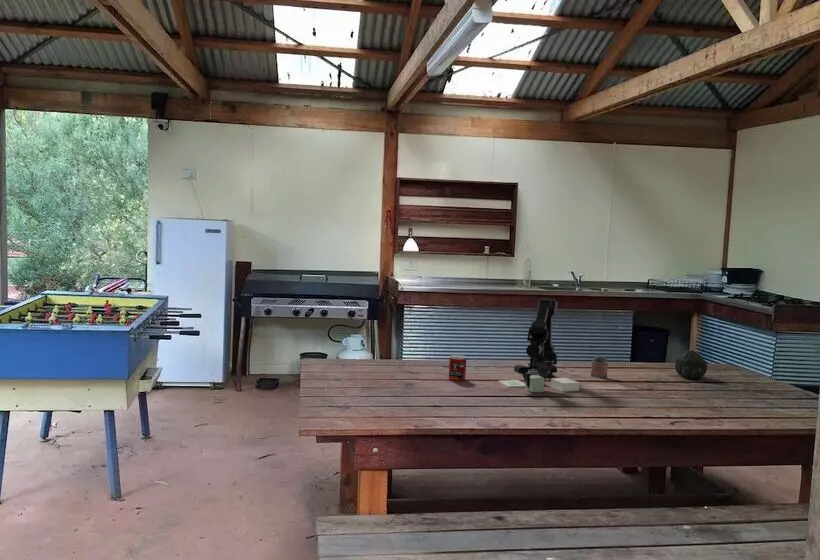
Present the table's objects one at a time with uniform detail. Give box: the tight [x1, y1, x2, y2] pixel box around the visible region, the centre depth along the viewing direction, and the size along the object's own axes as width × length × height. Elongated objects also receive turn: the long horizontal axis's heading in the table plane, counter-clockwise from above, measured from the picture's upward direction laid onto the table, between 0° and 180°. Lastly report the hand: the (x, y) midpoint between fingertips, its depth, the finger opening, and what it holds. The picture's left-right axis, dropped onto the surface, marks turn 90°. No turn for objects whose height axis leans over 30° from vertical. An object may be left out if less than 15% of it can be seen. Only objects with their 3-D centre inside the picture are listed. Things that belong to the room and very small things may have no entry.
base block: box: [550, 377, 580, 392], centre depth 291 cm, size 9×9×4 cm
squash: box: [674, 350, 708, 380], centre depth 325 cm, size 14×15×15 cm
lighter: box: [590, 356, 609, 379], centre depth 317 cm, size 8×3×10 cm, turn 62°
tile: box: [498, 379, 526, 388], centre depth 295 cm, size 10×10×1 cm
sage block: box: [524, 375, 546, 393], centre depth 285 cm, size 6×6×6 cm
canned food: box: [448, 354, 467, 382], centre depth 299 cm, size 8×8×11 cm
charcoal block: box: [523, 371, 540, 383], centre depth 300 cm, size 6×6×6 cm
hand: (534, 387), depth 286 cm, fingers closed on sage block, 6 cm apart
